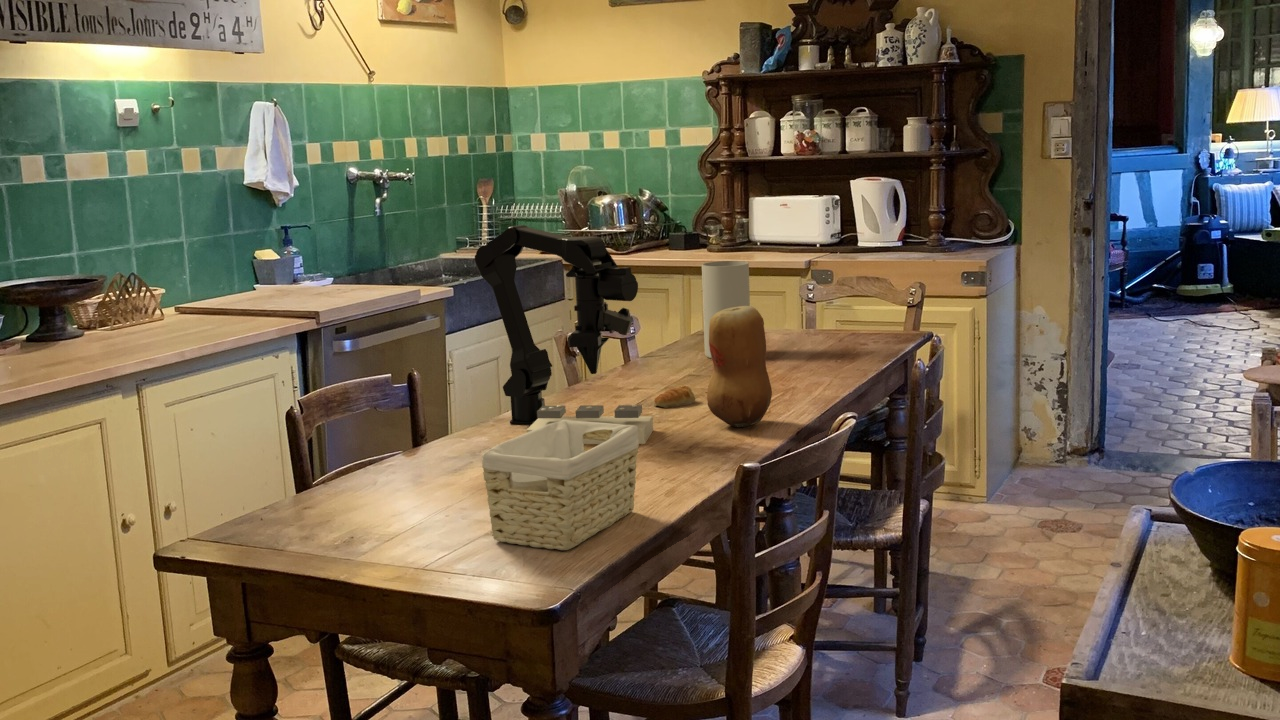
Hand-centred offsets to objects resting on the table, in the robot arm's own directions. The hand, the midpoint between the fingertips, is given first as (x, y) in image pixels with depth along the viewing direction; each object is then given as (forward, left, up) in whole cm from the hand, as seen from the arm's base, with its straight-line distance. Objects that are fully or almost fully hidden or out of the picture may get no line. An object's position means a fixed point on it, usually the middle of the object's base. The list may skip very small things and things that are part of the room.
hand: (593, 373), depth 253 cm
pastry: (+13, +24, -12) cm, 30 cm away
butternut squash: (+30, +3, -12) cm, 33 cm away
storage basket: (+8, -62, -12) cm, 63 cm away
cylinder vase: (+20, +80, -12) cm, 83 cm away
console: (0, -6, -12) cm, 13 cm away
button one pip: (0, -6, -7) cm, 10 cm away
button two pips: (+8, -6, -7) cm, 12 cm away
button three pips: (-8, -6, -7) cm, 12 cm away
